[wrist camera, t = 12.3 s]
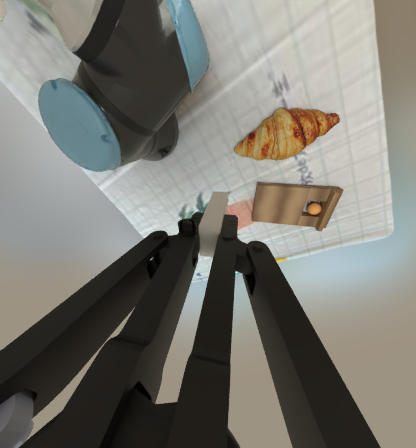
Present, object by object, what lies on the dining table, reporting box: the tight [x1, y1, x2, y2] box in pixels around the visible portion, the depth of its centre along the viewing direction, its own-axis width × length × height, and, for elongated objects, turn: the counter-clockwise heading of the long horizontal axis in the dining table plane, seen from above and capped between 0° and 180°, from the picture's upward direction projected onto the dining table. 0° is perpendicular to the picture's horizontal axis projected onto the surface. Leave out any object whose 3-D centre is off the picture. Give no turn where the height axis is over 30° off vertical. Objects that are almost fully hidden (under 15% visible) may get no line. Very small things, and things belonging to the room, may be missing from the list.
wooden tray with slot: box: [252, 182, 343, 231], centre depth 43 cm, size 20×11×4 cm, turn 90°
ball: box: [307, 203, 321, 215], centre depth 43 cm, size 3×3×3 cm
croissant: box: [234, 108, 340, 160], centre depth 35 cm, size 21×10×8 cm, turn 109°
